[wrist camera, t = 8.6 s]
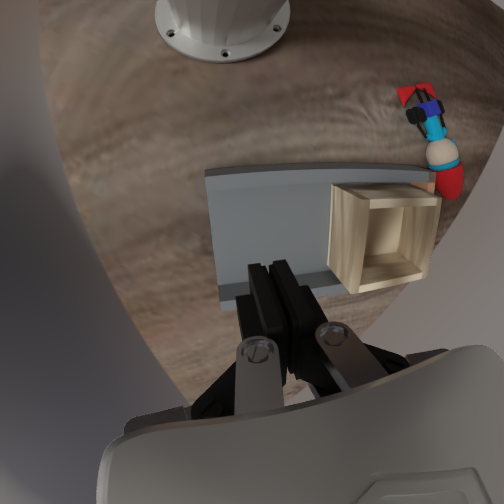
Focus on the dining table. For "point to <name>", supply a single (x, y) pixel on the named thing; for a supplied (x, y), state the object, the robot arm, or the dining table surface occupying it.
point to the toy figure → (436, 141)
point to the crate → (381, 234)
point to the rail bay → (285, 218)
